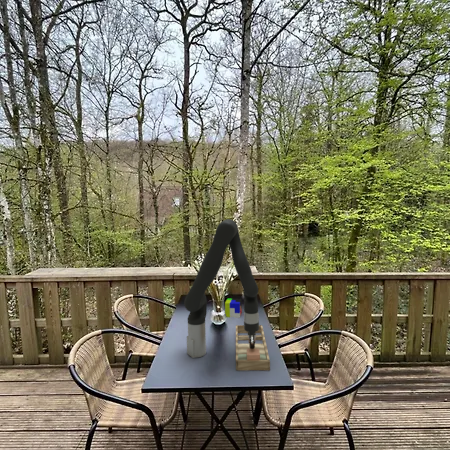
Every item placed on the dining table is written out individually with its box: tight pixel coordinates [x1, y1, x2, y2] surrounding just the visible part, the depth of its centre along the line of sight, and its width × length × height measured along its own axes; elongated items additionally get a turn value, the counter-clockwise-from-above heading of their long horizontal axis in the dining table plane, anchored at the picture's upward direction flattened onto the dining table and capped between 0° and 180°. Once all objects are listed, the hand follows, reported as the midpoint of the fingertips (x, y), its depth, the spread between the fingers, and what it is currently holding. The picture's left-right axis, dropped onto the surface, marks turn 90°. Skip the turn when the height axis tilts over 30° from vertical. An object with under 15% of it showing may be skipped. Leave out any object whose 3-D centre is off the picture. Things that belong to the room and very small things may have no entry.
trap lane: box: [235, 324, 271, 371], centre depth 159 cm, size 40×16×4 cm, turn 178°
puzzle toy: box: [224, 298, 243, 319], centre depth 207 cm, size 10×10×10 cm
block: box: [247, 349, 260, 360], centre depth 143 cm, size 6×6×5 cm
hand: (252, 353), depth 149 cm, fingers closed
